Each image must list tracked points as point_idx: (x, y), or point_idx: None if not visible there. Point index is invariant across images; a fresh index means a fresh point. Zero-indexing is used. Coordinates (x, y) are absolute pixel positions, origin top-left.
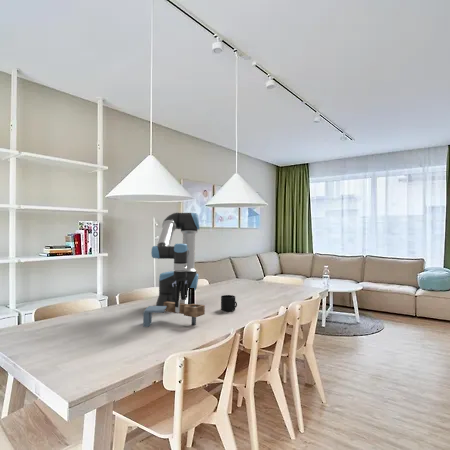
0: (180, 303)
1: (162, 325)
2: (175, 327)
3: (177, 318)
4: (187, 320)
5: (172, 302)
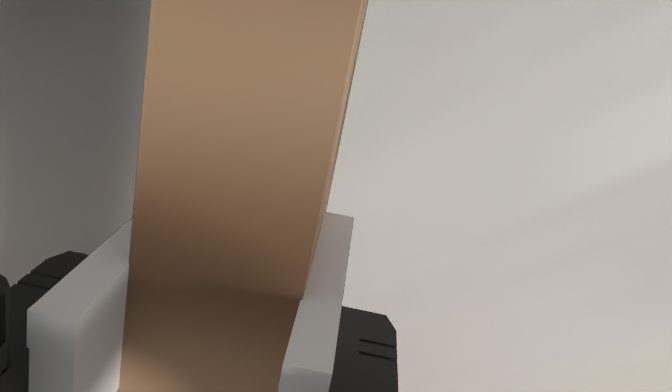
0: (253, 343)
1: (8, 19)
2: (36, 245)
3: (480, 42)
4: (422, 251)
5: (291, 24)
